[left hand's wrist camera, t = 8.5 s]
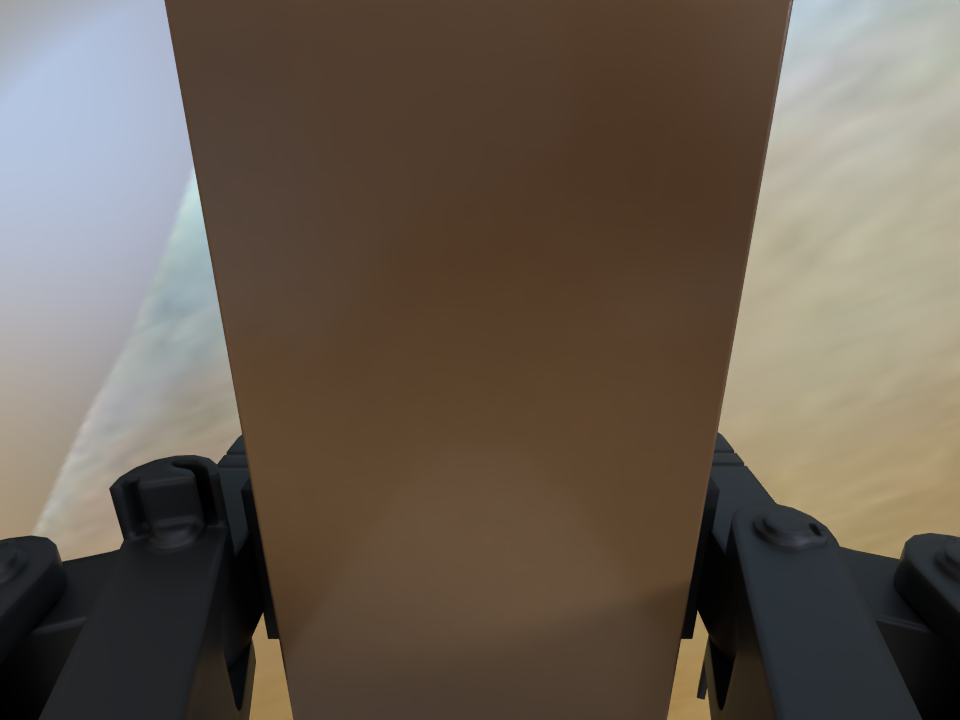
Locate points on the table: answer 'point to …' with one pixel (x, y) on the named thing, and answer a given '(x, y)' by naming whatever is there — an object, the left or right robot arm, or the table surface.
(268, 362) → the post
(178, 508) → the left robot arm
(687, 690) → the table surface
